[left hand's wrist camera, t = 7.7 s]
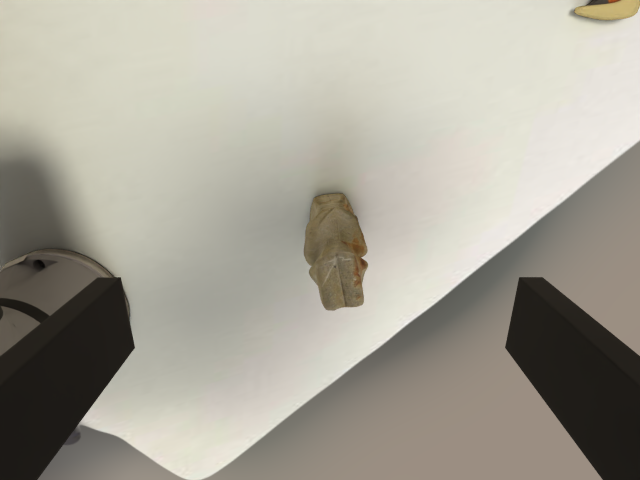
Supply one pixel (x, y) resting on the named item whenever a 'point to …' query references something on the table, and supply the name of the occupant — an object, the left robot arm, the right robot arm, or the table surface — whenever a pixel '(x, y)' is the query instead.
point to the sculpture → (335, 251)
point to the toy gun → (609, 9)
